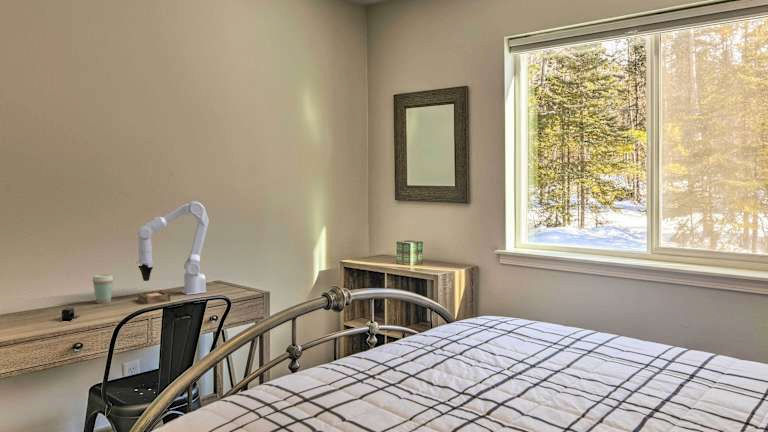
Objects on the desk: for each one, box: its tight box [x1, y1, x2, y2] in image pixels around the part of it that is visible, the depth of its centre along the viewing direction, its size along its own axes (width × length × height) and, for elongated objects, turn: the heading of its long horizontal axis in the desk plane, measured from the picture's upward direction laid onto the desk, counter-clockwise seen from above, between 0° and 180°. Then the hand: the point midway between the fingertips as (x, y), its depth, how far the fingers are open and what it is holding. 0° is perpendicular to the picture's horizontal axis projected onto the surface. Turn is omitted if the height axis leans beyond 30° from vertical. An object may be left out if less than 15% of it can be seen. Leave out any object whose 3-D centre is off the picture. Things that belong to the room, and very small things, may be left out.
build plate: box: [57, 307, 80, 322], centre depth 237 cm, size 12×7×5 cm, turn 3°
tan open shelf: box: [137, 290, 171, 305], centre depth 271 cm, size 11×11×3 cm
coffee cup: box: [91, 273, 114, 305], centre depth 266 cm, size 9×8×12 cm
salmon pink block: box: [145, 292, 161, 297], centre depth 270 cm, size 5×6×3 cm
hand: (146, 280), depth 278 cm, fingers closed
